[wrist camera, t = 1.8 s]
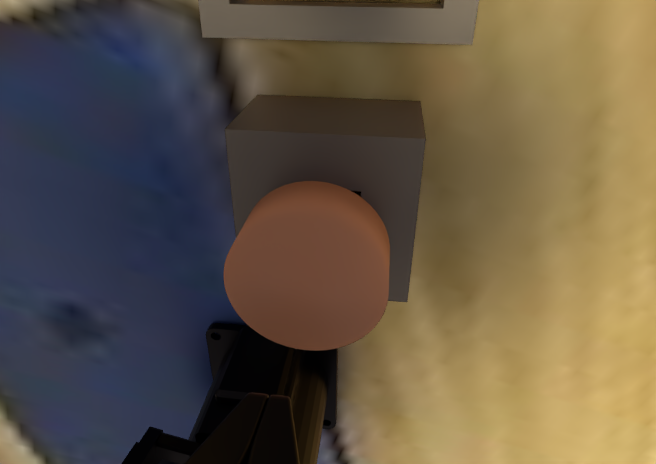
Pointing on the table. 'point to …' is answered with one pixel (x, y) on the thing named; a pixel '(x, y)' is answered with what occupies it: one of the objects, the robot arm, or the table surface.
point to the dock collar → (341, 21)
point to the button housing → (334, 160)
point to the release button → (310, 267)
